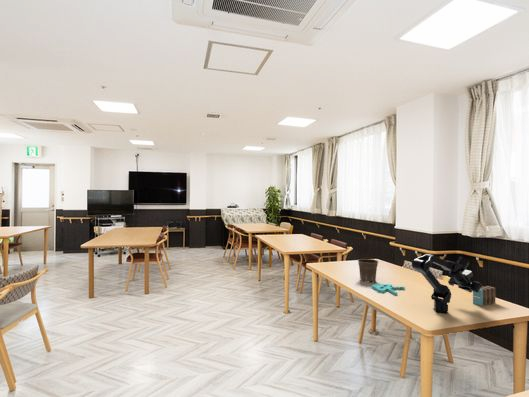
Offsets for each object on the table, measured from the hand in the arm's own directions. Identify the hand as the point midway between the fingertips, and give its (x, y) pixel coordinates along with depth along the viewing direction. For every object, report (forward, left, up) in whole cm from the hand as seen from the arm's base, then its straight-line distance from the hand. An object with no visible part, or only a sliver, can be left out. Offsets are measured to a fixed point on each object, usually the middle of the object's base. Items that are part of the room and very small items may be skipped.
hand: (470, 292), depth 198 cm
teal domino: (+5, +4, -9) cm, 11 cm away
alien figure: (-47, +25, -9) cm, 54 cm away
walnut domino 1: (+9, +6, -9) cm, 14 cm away
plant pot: (-58, +50, -9) cm, 77 cm away
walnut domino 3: (+15, +11, -9) cm, 20 cm away
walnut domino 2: (+12, +8, -9) cm, 17 cm away
